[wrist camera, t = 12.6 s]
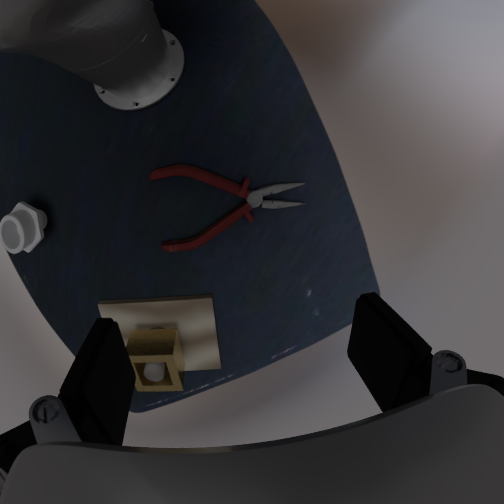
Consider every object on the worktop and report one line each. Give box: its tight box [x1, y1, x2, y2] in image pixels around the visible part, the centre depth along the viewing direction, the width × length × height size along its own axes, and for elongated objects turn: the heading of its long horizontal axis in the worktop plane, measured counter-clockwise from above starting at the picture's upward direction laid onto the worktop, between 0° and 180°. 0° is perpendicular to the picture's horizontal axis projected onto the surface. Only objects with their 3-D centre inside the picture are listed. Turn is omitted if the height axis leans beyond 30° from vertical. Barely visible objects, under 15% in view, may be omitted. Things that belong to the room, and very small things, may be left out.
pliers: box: [149, 164, 306, 252], centre depth 36 cm, size 12×20×3 cm, turn 96°
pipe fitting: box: [0, 202, 47, 254], centre depth 29 cm, size 6×7×8 cm
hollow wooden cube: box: [126, 328, 185, 391], centre depth 36 cm, size 7×7×6 cm
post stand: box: [98, 294, 221, 382], centre depth 38 cm, size 14×18×9 cm
